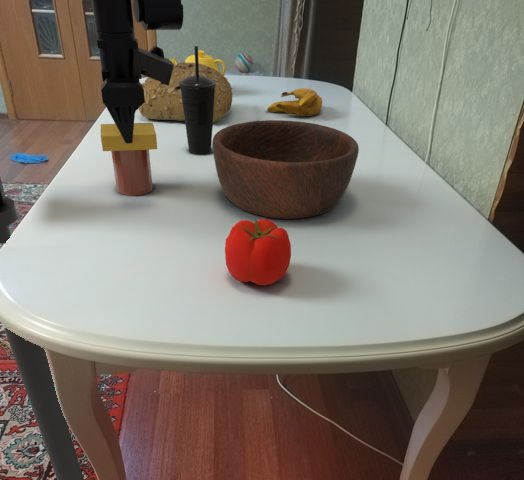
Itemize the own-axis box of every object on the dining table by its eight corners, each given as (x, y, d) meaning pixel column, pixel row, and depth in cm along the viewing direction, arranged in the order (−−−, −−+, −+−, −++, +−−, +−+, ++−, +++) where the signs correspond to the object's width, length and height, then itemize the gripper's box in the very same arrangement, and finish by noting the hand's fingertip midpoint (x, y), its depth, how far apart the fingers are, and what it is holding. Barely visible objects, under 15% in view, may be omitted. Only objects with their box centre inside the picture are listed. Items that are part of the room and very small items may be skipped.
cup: (117, 196, 90) (110, 150, 85) (116, 183, 95) (110, 139, 90) (153, 194, 91) (149, 149, 86) (151, 181, 96) (146, 138, 91)
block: (102, 151, 84) (100, 135, 83) (102, 138, 90) (100, 124, 88) (157, 149, 86) (156, 134, 85) (154, 137, 92) (152, 122, 90)
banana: (316, 103, 149) (318, 82, 145) (326, 121, 134) (329, 98, 131) (264, 102, 148) (265, 80, 144) (269, 120, 133) (270, 96, 130)
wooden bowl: (329, 172, 104) (335, 119, 98) (369, 224, 85) (380, 162, 78) (207, 174, 100) (206, 119, 94) (221, 230, 81) (220, 166, 75)
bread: (235, 106, 143) (235, 58, 136) (229, 127, 126) (229, 73, 119) (149, 102, 143) (145, 53, 136) (132, 122, 126) (125, 68, 119)
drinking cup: (223, 149, 113) (222, 46, 100) (206, 159, 107) (203, 51, 95) (194, 143, 115) (189, 41, 103) (175, 152, 110) (168, 46, 97)
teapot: (208, 85, 162) (207, 45, 155) (232, 94, 154) (232, 52, 147) (168, 90, 155) (165, 48, 148) (191, 99, 147) (189, 56, 140)
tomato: (220, 263, 73) (219, 214, 68) (280, 259, 74) (283, 210, 70) (232, 299, 66) (232, 246, 61) (298, 292, 67) (302, 241, 63)
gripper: (174, 40, 72) (181, 152, 82) (162, 23, 86) (169, 120, 96) (93, 39, 70) (110, 155, 80) (94, 22, 84) (109, 122, 94)
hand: (128, 136), depth 87 cm, fingers closed on block, 7 cm apart
